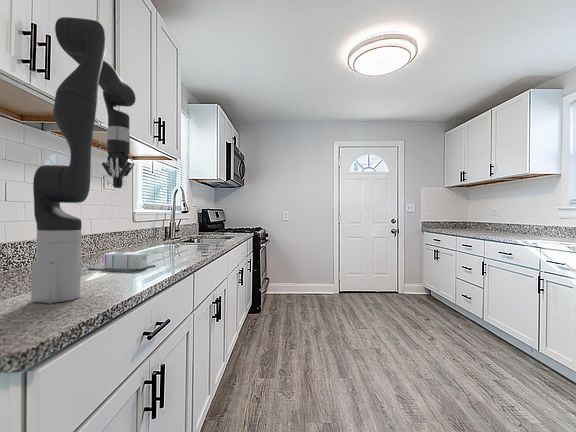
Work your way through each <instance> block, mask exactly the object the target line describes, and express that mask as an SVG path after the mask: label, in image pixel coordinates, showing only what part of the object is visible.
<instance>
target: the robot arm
mask: <svg viewBox="0 0 576 432" xmlns="http://www.w3.org/2000/svg"><path fill="white" fill-rule="evenodd" d="M54 29H55V30H54V33H55V37H56V41H57V43H58V44H59V46H60V47H61V49H62V50H63V51H64V52H65V53H66V54H67V55H68V56H69V57H70V58H71V59H72V60H74V61H75V62H76V63H77V64H78V66H77V67H76V68H75V69H74V70H73V71H72V72H71V73H70V74H69V75H67V76H66V78H65V79H64V80H63V81H61V83H60V85H59V86H58V87H57V89H56V91H55V97H54V98H55V99H54V104H53V112H52V113H53V118H54V121H55V123H56V125H57V127H58V129H59V130H60V132H61V133H62V135H63V137H64V138H65V141H66V142H67V144H68V146H69V150H70V161H69V165H57V164H56V165H55V164H54V165H52V164H51V165H50V164H47V165H44V164H43V165H40V166H39V167H37V169H36V171H35V173H34V174H33V175H34V176H33V182H32V185H33V186H32V187H33V188H32V189H33V190H32V191H33V208H34V209H33V212H34V213H33V214H34V220H35V222H36V246H35V247H36V249H35V250H36V252H35V253H36V256H35V258H36V259H35V261H32V263H31V282H30V283H31V287H30V288H31V290H30V291H31V292H30V295H31V296H30V299H31V300H30V301H31V302H32V303H33V302H35V303H43V304H55V303H60V302H68V301H72V300H76V299H78V298H80V297H81V277H82V276H81V275H82V273H81V269H82V267H81V265H82V261H81V260H82V220H81V218H79V217H76V216H73V215H71V214H69V213H66V212H65V211H64V210H63V209H62V207H61V203H67V204H68V203H70V204H71V203H72V204H73V203H75V204H76V203H78V204H80V203H83V202H84V201H86V200H87V198H88V196H89V194H90V193H89V192H90V187H91V172H92V171H91V168H92V167H91V164H92V162H91V160H92V159H91V158H92V142H93V136H94V135H93V134H94V126H95V120H96V113H97V106H98V105H97V104H98V103H97V101H98V91H99V87H100V88H101V90H102V97H103V99H104V100H103V101H104V103H105V107H106V111H107V125H108V126H107V132H106V153H107V154H108V155H107V158H106V159H107V160H106V161H105V162H104V161H103V162H102V163H101V165H102V167H103V169H104V170H105V172H106V174H107V175H108V176H110V177H112V183H113V184H112V186H113V188H114V189H121V188H122V187H123V179H124V177H128V176H129V174H130V173H131V170H132V169H134V168H133V167H134V166H135V162H132V161H131V160H130V156H129V155H130V150H131V147H130V146H131V134H130V133H131V132H130V119H131V118H130V115H129V114H128V113H127V112H125V111H123V110H122V111H120V110H117V108H116V107H132V106H133V105H135V103H136V98H137V97H136V92H135V91H134V90H133V88H132V87H131V85H129V84H128V83H127V82H125V81H124V79H121V77H120V76H119V73H118V72H117V71H116V69H115V68H114V67H113V66H112V65H111V64H109V62H108V61H106V60H104V59H105V55H106V50H107V49H106V48H107V35H106V30H105V28H104V27H103V24H101V23H100V22H99V21H98V20H94V19H88V18H81V17H80V18H79V17H67V16H62V17H59V18H58V19H57V20H56V22H55V24H54Z"/></svg>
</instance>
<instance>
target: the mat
mask: <svg viewBox="0 0 576 432" xmlns="http://www.w3.org/2000/svg"><path fill="white" fill-rule="evenodd" d="M153 267H156V264H149V263H147V267H145V268H142V269H112V268H104V265H96V266H93V267H87V270H88V269H94V270H93V271H101V270H105V271H104V272H114V271H116V272H117V273H132V272H137V271H140V270H144V269H146V270H147V269H150V268H153Z"/></svg>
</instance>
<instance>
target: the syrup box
mask: <svg viewBox="0 0 576 432" xmlns="http://www.w3.org/2000/svg"><path fill="white" fill-rule="evenodd" d="M102 258H103V259H102V260H103V261H102V262H103V265H104V268H112V269H141V270H143V269H142V268H145V267H147V264H148V252H132V251H131V252H128V251H111V252H107V253H104V254H103V257H102Z"/></svg>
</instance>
